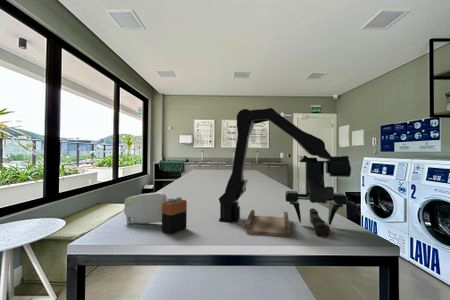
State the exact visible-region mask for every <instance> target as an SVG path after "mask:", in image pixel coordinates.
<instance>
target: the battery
mask: <svg viewBox="0 0 450 300" xmlns="http://www.w3.org/2000/svg"><path fill="white" fill-rule="evenodd" d="M187 205H188V203H187V199H182V197H180V196H179V197H176V198H171V197H169V198H167V201H165V202H162V222H161V232H163V233H166V234H168V235H173V234H175V233H177V232H180V231H183V230H186V229H187V222H188V221H187V218H188V217H187V211H188V210H187Z"/></svg>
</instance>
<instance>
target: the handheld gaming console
mask: <svg viewBox="0 0 450 300" xmlns="http://www.w3.org/2000/svg"><path fill="white" fill-rule="evenodd" d="M167 199H168V197H167V195H166V193H164V192H162V191H159V192H149V193H142V194H139V195H132V196H128V197H126V198H125V200H124V207H123V212H124V215H125V218H126V219H125V220H126V224H127V223H131V224H142V225H143V224H152V223H154V224H155V223H162V202H165V201H167Z"/></svg>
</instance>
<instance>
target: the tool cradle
mask: <svg viewBox="0 0 450 300" xmlns="http://www.w3.org/2000/svg"><path fill="white" fill-rule="evenodd" d="M255 212H256V211H255V210H254V209H251V210H250V212H249V214H248V216H247V218H246V221H245V223H244V231H246V234H248V235H259V236H269V237H283V238H289V235H290V234H291V225H290V224H291V223H290V220H289V213H288V211H283V216H267V215H266V216H265V215H256V213H255Z"/></svg>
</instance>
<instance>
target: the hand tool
mask: <svg viewBox="0 0 450 300" xmlns="http://www.w3.org/2000/svg"><path fill="white" fill-rule="evenodd" d="M309 222H310V224H312V226H313V229H314V231H315V232H314V234H315V235H316V237H321V238H328V237H329V236H330V232H331V227H330V226H329V224H328V225H327V224H326V221H325V220H323V219H322V218H321V216H319V211H318V210H317V209H315V208H313V207H312V208H309Z"/></svg>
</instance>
